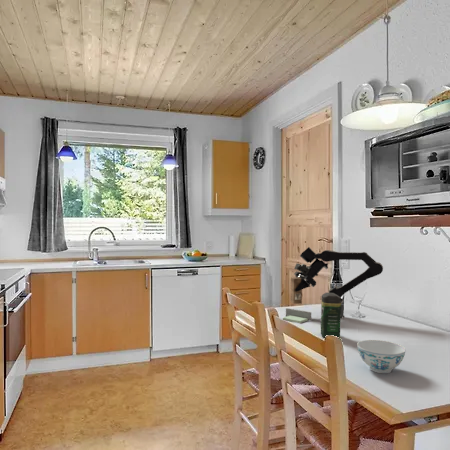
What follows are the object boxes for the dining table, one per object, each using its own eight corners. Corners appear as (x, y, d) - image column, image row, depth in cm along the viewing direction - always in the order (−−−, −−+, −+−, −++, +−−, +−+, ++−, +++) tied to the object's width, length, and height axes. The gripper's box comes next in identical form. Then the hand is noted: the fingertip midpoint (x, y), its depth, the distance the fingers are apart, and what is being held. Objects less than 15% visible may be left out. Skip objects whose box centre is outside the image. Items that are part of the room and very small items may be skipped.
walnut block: (298, 301, 213) (299, 277, 213) (301, 303, 209) (302, 278, 209) (290, 302, 213) (291, 277, 212) (293, 303, 208) (294, 278, 208)
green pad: (307, 320, 200) (307, 318, 200) (300, 323, 194) (300, 321, 194) (290, 317, 206) (290, 315, 206) (282, 319, 201) (282, 317, 201)
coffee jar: (342, 340, 167) (342, 295, 167) (322, 339, 168) (323, 294, 168) (337, 333, 177) (338, 291, 177) (319, 333, 178) (320, 291, 177)
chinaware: (348, 369, 134) (348, 345, 134) (369, 358, 144) (369, 337, 144) (393, 382, 123) (394, 357, 123) (412, 370, 134) (412, 347, 134)
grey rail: (311, 320, 201) (311, 312, 201) (310, 320, 200) (310, 312, 200) (287, 315, 210) (287, 308, 210) (285, 316, 209) (285, 308, 209)
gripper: (298, 256, 220) (278, 276, 219) (310, 259, 202) (289, 282, 200) (311, 271, 222) (291, 291, 220) (325, 275, 203) (304, 297, 202)
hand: (293, 290), depth 210 cm, fingers closed on walnut block, 4 cm apart
